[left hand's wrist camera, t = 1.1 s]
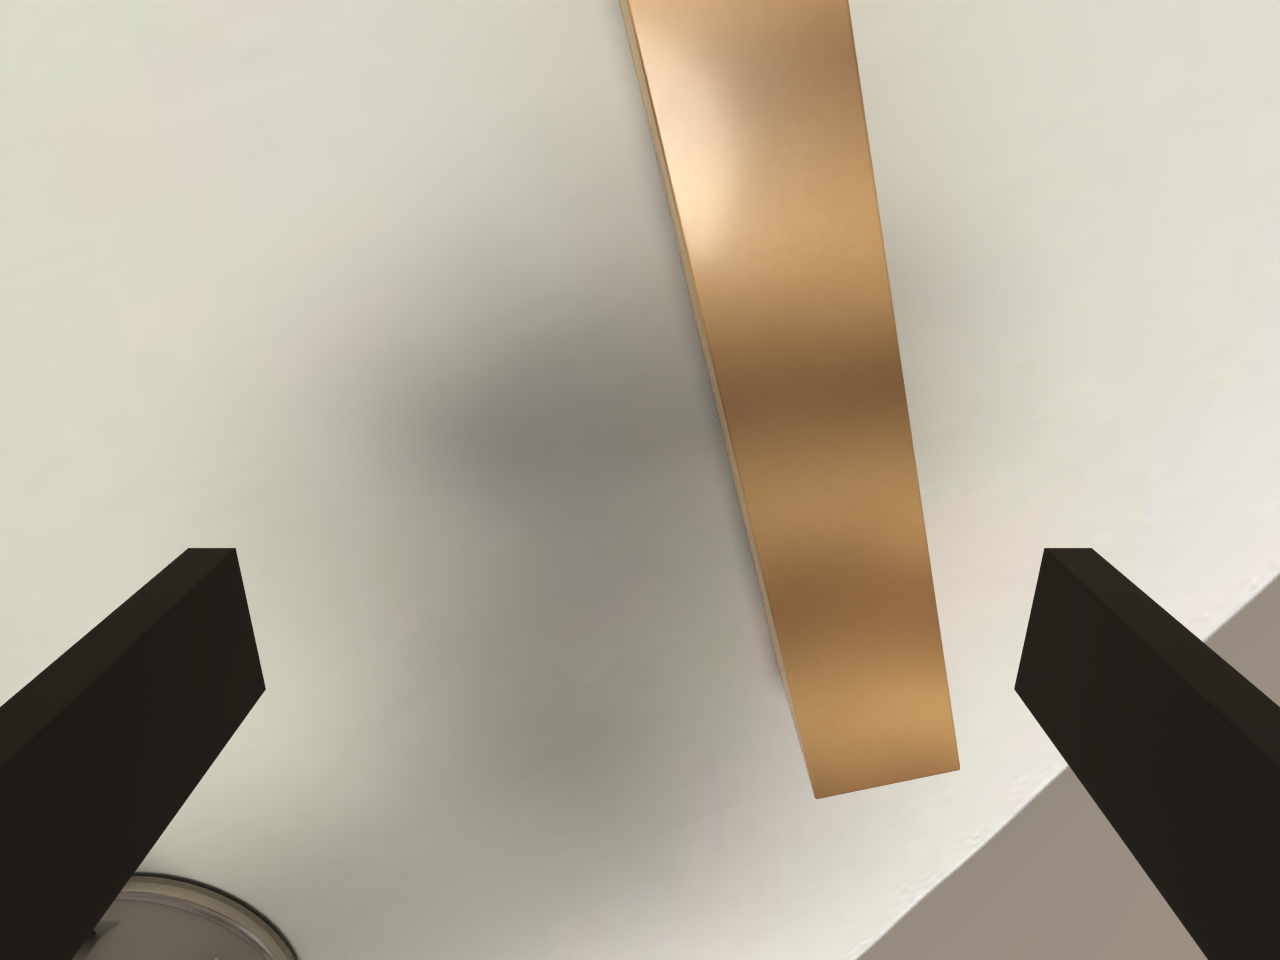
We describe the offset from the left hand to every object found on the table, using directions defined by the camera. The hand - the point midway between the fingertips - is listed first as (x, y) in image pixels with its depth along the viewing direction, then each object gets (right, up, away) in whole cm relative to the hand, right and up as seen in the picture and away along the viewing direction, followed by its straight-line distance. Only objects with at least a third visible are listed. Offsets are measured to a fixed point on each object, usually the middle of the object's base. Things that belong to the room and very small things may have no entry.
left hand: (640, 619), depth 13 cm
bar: (-1, +31, +9) cm, 32 cm away
